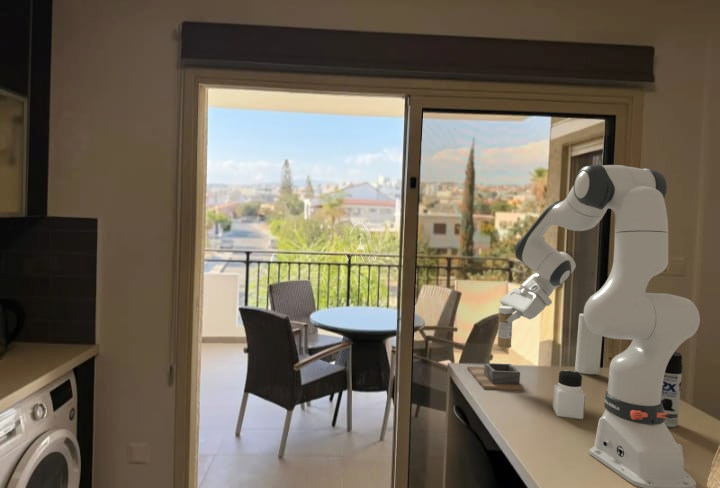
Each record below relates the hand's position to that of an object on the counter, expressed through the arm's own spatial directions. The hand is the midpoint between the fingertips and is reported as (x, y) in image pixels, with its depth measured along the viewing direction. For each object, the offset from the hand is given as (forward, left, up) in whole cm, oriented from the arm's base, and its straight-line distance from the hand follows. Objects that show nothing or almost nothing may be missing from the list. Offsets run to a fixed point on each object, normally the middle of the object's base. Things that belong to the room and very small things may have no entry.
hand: (503, 319), depth 167 cm
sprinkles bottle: (0, -1, -9) cm, 9 cm away
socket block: (+3, +1, -21) cm, 21 cm away
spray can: (-30, -37, -21) cm, 52 cm away
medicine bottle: (-25, -12, -21) cm, 35 cm away
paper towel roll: (+14, -37, -21) cm, 45 cm away
